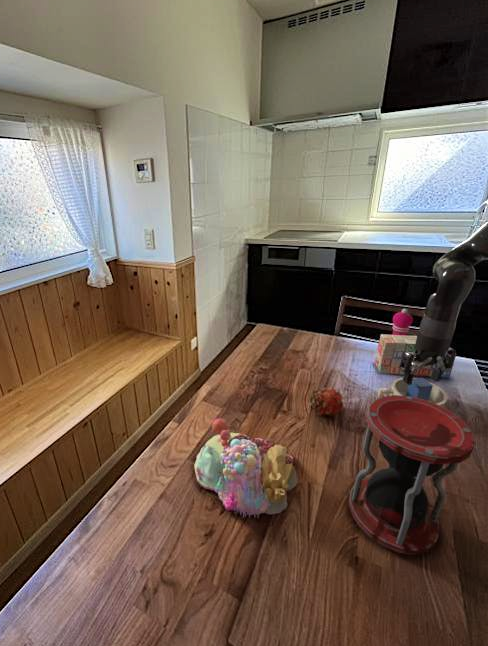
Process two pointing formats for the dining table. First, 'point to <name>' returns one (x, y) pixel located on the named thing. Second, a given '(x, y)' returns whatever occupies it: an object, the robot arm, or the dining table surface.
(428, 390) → the block
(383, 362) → the stack of blocks
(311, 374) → the dining table surface
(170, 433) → the dining table surface
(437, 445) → the hourglass
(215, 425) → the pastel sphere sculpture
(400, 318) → the pepper mill
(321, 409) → the dragon fruit
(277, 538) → the dining table surface
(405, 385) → the mug
